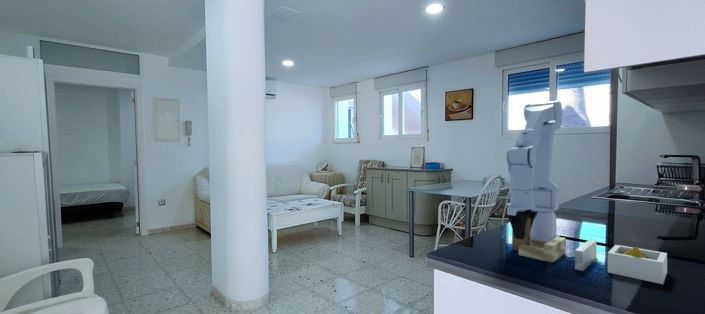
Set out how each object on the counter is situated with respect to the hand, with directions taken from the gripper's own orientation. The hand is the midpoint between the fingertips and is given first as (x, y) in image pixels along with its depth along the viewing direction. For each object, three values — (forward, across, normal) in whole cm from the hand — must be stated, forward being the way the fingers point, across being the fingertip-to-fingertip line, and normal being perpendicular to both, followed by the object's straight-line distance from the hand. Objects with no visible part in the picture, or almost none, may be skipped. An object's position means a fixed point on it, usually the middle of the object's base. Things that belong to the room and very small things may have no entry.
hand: (522, 237), depth 89 cm
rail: (+4, 0, +15) cm, 15 cm away
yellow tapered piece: (+4, -1, +24) cm, 25 cm away
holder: (+4, -1, +24) cm, 24 cm away
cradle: (+4, 0, +5) cm, 6 cm away
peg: (+4, 0, 0) cm, 4 cm away
